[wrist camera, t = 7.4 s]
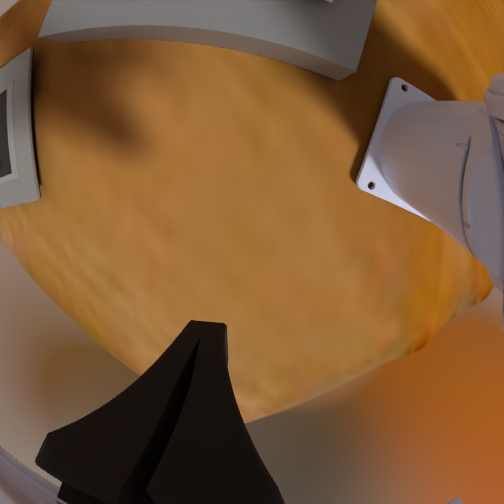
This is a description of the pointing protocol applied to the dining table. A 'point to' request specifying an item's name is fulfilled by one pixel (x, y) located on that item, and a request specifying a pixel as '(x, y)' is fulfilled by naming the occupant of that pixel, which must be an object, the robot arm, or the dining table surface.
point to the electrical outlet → (17, 133)
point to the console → (227, 27)
